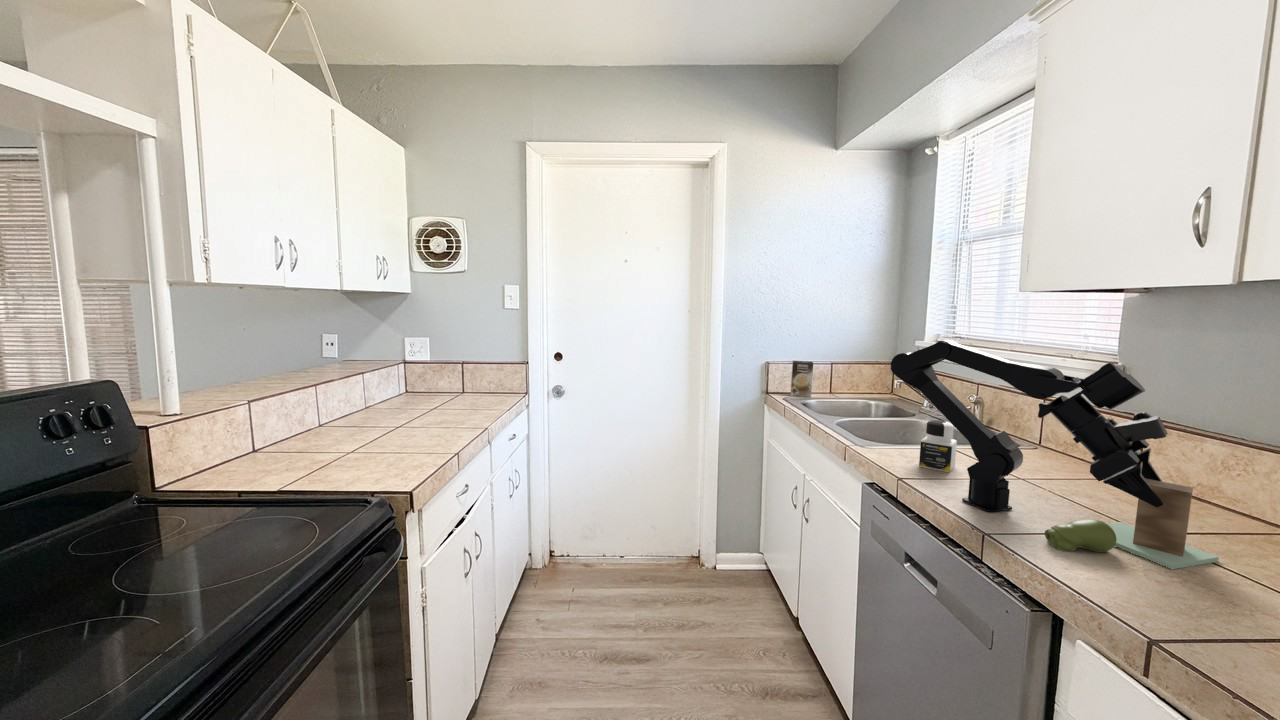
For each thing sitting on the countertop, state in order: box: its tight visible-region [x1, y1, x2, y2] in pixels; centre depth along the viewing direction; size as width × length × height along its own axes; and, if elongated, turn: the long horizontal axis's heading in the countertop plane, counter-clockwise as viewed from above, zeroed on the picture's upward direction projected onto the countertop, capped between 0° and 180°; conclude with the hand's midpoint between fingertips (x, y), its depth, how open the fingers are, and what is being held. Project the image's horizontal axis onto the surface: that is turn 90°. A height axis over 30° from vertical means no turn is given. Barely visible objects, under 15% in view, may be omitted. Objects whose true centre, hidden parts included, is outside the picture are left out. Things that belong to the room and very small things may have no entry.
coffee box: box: [790, 360, 814, 399], centre depth 233 cm, size 9×6×16 cm
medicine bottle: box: [918, 419, 958, 473], centre depth 132 cm, size 7×7×12 cm
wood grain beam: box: [1133, 478, 1194, 557], centre depth 87 cm, size 6×4×11 cm, turn 40°
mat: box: [1107, 521, 1220, 570], centre depth 90 cm, size 14×11×1 cm
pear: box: [1044, 518, 1116, 553], centre depth 88 cm, size 6×5×10 cm
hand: (1163, 499), depth 87 cm, fingers open, 9 cm apart
